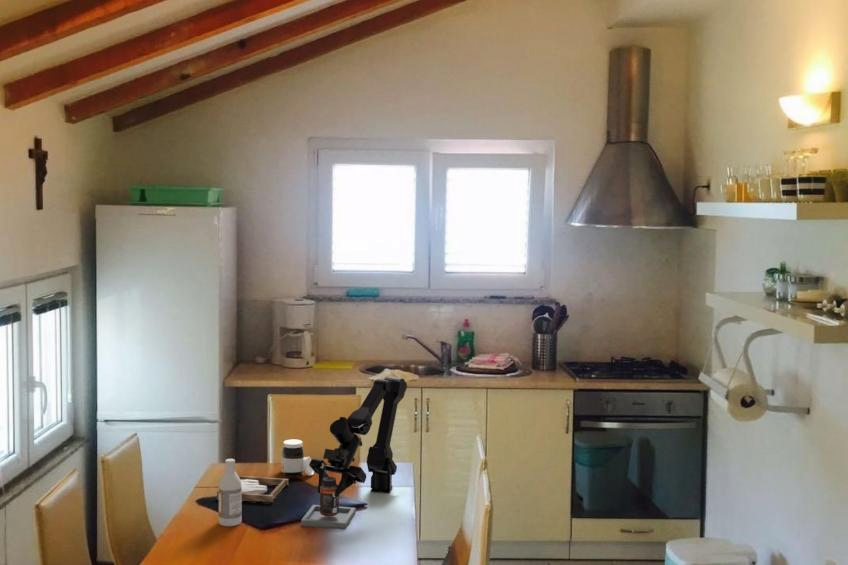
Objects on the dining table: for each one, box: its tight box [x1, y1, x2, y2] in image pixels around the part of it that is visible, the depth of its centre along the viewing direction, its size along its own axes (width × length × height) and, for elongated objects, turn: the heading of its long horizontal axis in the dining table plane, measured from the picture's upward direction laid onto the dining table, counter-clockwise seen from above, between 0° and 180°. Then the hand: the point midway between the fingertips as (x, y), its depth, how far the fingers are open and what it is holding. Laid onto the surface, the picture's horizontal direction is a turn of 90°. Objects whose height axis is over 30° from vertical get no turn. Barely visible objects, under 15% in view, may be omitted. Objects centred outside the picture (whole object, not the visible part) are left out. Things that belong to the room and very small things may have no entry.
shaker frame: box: [216, 475, 289, 503], centre depth 313 cm, size 19×18×2 cm
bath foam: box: [218, 458, 243, 527], centre depth 284 cm, size 7×7×20 cm
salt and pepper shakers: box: [241, 479, 268, 495], centre depth 312 cm, size 12×4×11 cm
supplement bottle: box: [319, 476, 340, 516], centre depth 290 cm, size 6×6×11 cm
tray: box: [300, 504, 357, 530], centre depth 290 cm, size 14×14×2 cm
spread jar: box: [281, 438, 315, 477], centre depth 334 cm, size 12×11×12 cm
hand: (327, 494), depth 288 cm, fingers closed on supplement bottle, 6 cm apart
